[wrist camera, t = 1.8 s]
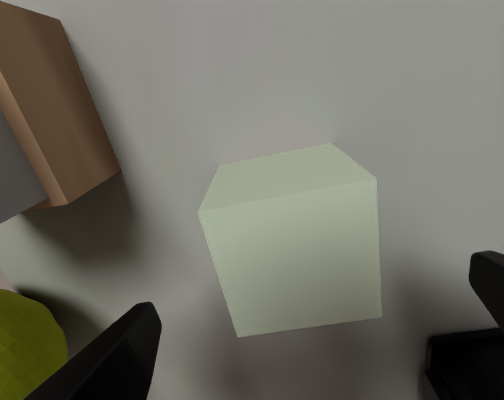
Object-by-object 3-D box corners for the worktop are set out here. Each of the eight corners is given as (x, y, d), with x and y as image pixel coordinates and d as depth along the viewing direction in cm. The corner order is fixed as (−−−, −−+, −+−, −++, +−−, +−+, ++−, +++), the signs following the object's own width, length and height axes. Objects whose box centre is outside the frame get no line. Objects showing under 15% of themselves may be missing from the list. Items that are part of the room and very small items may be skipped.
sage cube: (330, 142, 12) (376, 178, 7) (341, 239, 14) (382, 317, 9) (220, 164, 12) (197, 212, 8) (244, 256, 14) (237, 337, 10)
